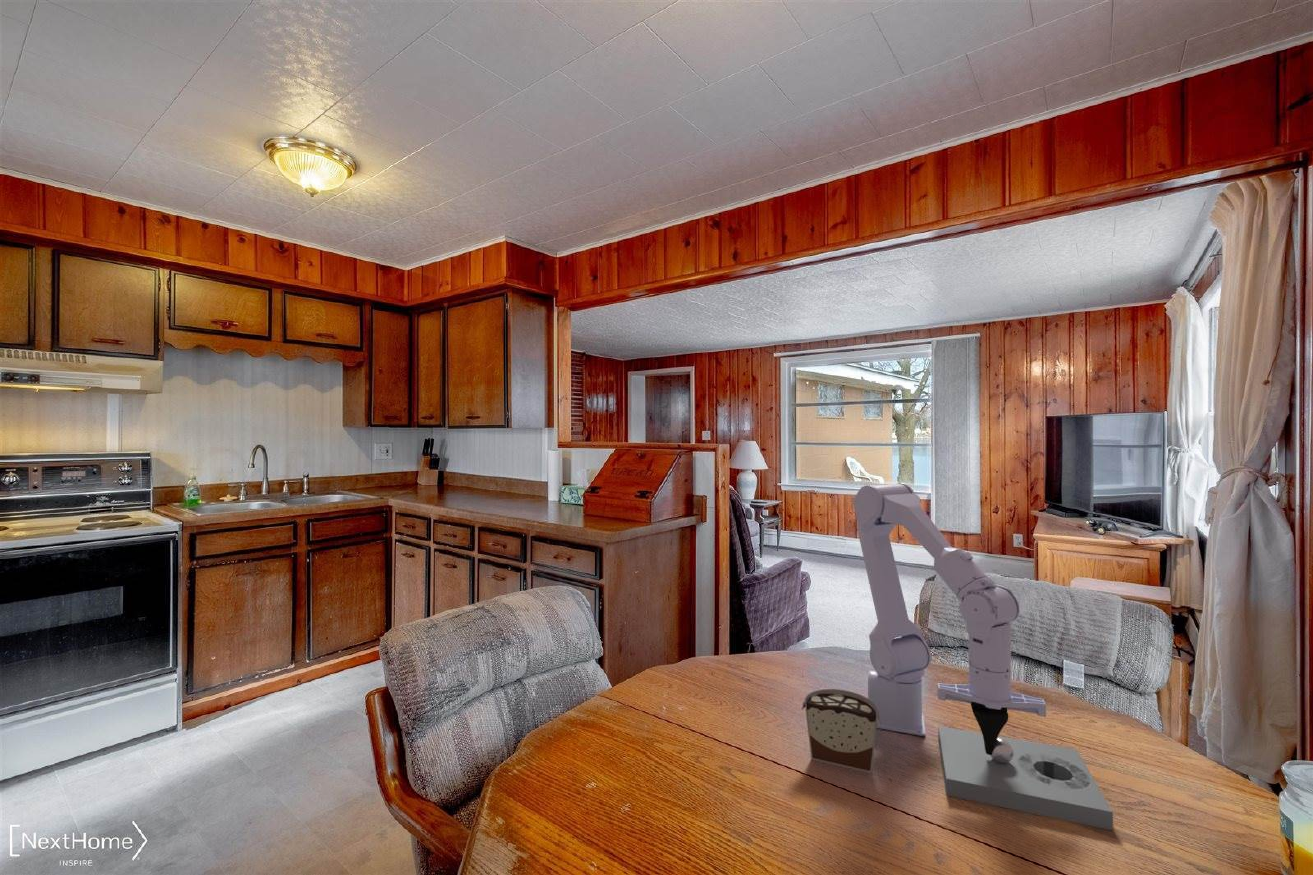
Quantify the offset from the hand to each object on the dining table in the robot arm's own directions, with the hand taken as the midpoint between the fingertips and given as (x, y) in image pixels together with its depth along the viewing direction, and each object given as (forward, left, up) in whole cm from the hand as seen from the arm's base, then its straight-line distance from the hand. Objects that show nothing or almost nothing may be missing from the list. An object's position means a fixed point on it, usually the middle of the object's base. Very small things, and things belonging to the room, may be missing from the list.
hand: (989, 751), depth 88 cm
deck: (+3, 0, -4) cm, 5 cm away
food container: (-22, -3, -4) cm, 22 cm away
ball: (+1, 0, 0) cm, 2 cm away
